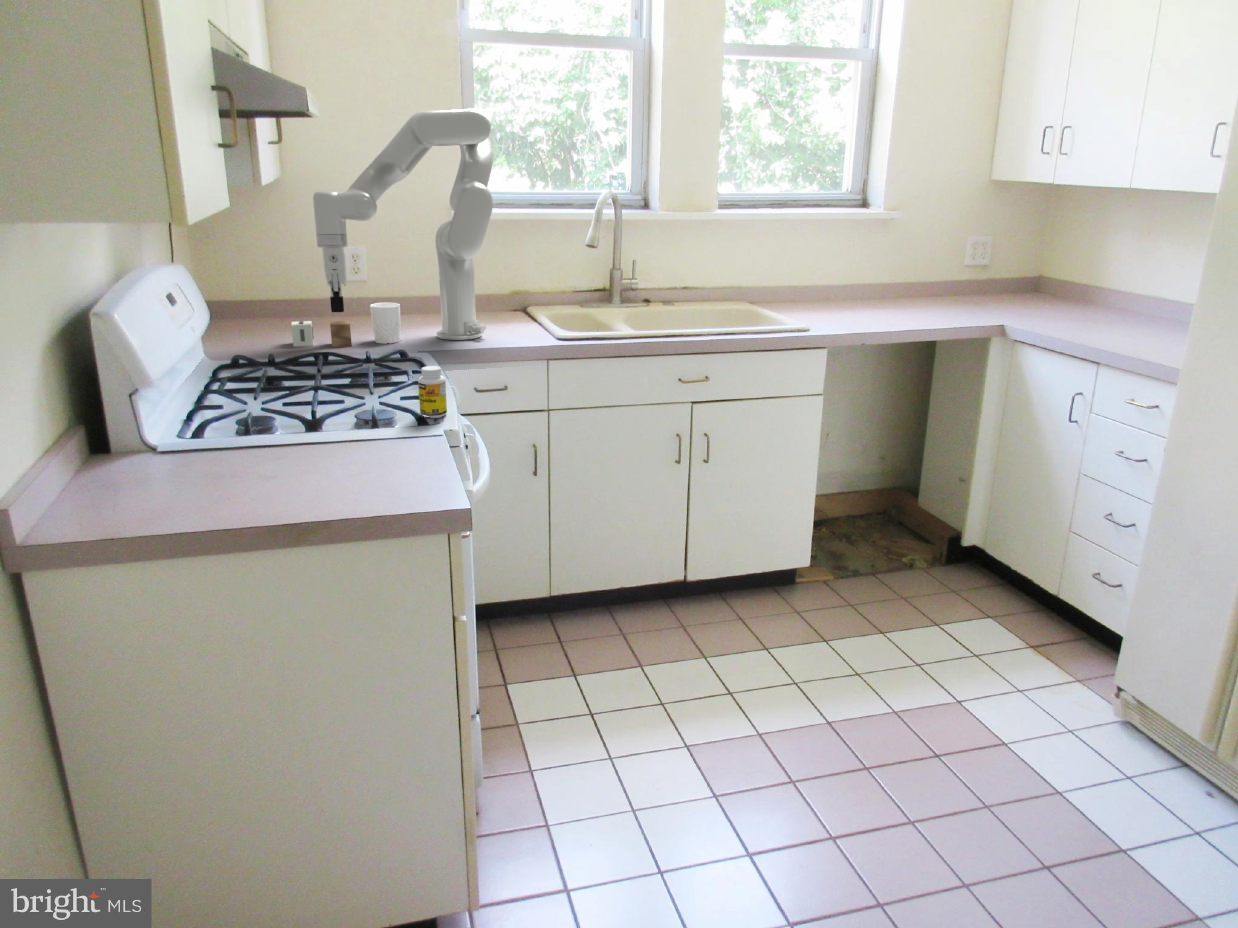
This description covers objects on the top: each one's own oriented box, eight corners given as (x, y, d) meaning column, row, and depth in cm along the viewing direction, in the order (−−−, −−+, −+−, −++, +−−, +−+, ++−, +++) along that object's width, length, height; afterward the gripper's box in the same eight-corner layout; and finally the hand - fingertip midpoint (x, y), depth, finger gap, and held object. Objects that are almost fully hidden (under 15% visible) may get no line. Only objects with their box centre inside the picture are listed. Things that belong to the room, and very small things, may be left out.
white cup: (367, 341, 247) (364, 304, 243) (391, 337, 252) (389, 301, 249) (383, 345, 242) (380, 308, 238) (408, 341, 247) (405, 305, 244)
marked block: (314, 342, 245) (312, 320, 243) (314, 346, 240) (311, 323, 238) (294, 343, 244) (291, 320, 242) (293, 347, 239) (291, 324, 237)
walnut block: (351, 342, 245) (349, 320, 243) (351, 346, 240) (349, 324, 238) (332, 343, 244) (329, 321, 242) (332, 347, 239) (330, 325, 237)
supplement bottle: (415, 417, 179) (411, 369, 176) (429, 410, 184) (426, 363, 180) (438, 420, 177) (435, 372, 174) (452, 413, 182) (449, 366, 178)
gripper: (347, 243, 227) (353, 316, 233) (346, 238, 241) (351, 306, 247) (316, 244, 225) (322, 317, 231) (316, 238, 238) (322, 307, 245)
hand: (337, 311), depth 239 cm, fingers closed
